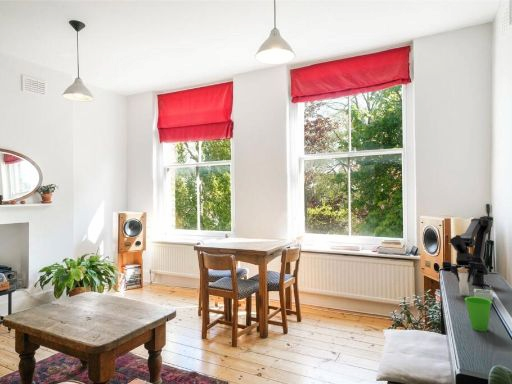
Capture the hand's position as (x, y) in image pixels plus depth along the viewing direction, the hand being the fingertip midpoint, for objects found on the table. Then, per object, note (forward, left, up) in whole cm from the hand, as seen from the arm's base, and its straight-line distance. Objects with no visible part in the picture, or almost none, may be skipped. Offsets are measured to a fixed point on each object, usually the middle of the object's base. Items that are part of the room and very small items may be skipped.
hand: (463, 281), depth 168 cm
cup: (+43, +6, -8) cm, 44 cm away
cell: (-1, 0, -7) cm, 7 cm away
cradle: (-2, +8, -8) cm, 11 cm away
